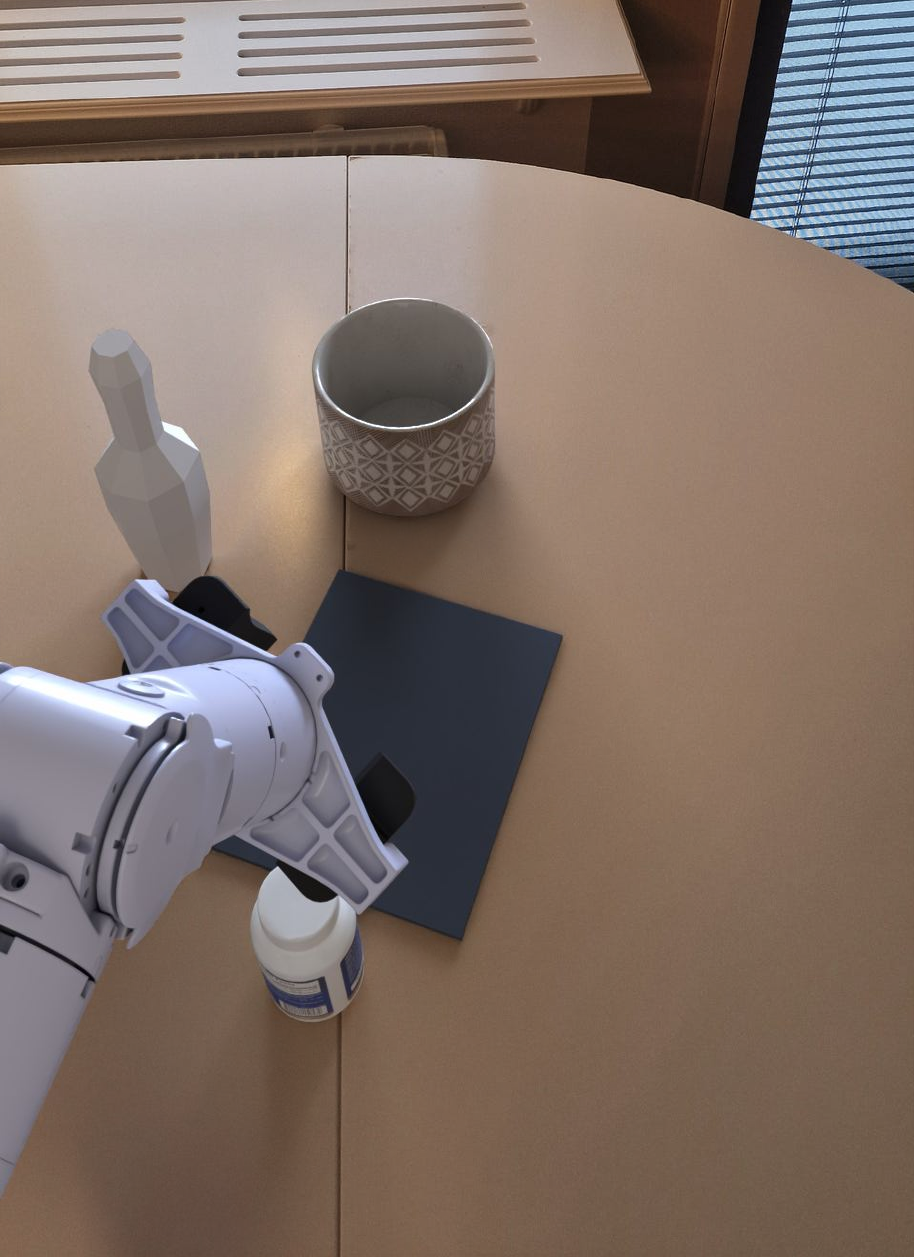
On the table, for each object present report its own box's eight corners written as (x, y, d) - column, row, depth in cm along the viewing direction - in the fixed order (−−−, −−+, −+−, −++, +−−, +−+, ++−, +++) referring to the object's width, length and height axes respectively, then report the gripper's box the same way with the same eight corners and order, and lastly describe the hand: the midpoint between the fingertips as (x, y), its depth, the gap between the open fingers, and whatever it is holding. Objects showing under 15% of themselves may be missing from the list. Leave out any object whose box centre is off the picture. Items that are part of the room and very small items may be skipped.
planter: (497, 524, 92) (497, 429, 84) (319, 528, 92) (304, 433, 85) (492, 391, 101) (492, 295, 94) (331, 394, 101) (318, 299, 94)
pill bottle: (327, 898, 73) (310, 822, 66) (385, 977, 70) (373, 905, 63) (247, 964, 71) (220, 892, 64) (302, 1048, 67) (281, 981, 61)
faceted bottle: (241, 552, 90) (190, 331, 75) (179, 618, 87) (112, 399, 72) (175, 511, 93) (113, 290, 78) (111, 573, 89) (33, 354, 74)
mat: (461, 942, 71) (461, 939, 71) (202, 846, 75) (202, 843, 75) (562, 638, 85) (562, 634, 85) (339, 571, 89) (338, 568, 89)
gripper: (429, 831, 41) (498, 772, 54) (138, 514, 45) (267, 530, 58) (277, 999, 41) (383, 899, 54) (-1, 664, 45) (160, 646, 58)
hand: (315, 715), depth 56 cm, fingers open, 7 cm apart
